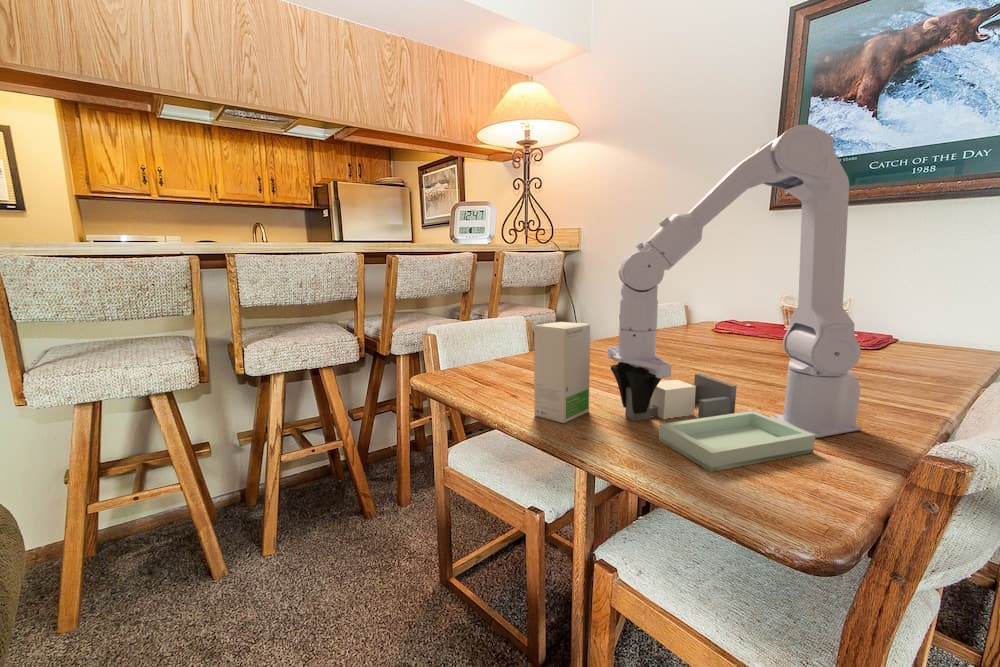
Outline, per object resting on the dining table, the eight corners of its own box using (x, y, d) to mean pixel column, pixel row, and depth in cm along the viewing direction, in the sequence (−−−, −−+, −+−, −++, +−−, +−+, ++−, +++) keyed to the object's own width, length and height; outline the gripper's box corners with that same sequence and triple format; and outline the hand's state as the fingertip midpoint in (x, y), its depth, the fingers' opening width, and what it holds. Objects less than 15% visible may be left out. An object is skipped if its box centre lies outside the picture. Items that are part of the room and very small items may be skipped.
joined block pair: (675, 406, 77) (677, 379, 76) (693, 415, 73) (695, 386, 72) (621, 413, 74) (622, 385, 73) (637, 423, 70) (638, 393, 69)
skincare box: (563, 425, 69) (564, 329, 67) (531, 415, 74) (530, 325, 71) (590, 411, 76) (592, 322, 73) (559, 403, 80) (560, 319, 77)
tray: (751, 425, 68) (752, 410, 67) (813, 452, 58) (815, 434, 58) (659, 440, 63) (659, 424, 63) (710, 472, 54) (712, 453, 53)
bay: (697, 399, 81) (699, 373, 80) (734, 414, 73) (736, 385, 72) (668, 403, 79) (669, 376, 78) (702, 419, 71) (704, 389, 70)
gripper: (593, 323, 75) (591, 398, 78) (643, 337, 62) (639, 428, 64) (628, 321, 77) (625, 394, 80) (685, 334, 64) (679, 422, 66)
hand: (634, 409), depth 72 cm, fingers closed on joined block pair, 2 cm apart
